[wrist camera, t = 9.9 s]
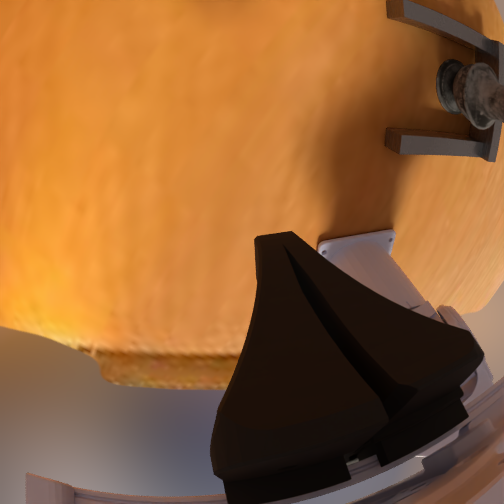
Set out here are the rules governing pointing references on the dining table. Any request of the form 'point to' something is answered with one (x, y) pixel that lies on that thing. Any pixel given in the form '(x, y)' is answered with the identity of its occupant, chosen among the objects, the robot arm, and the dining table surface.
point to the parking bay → (486, 51)
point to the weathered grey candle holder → (471, 92)
